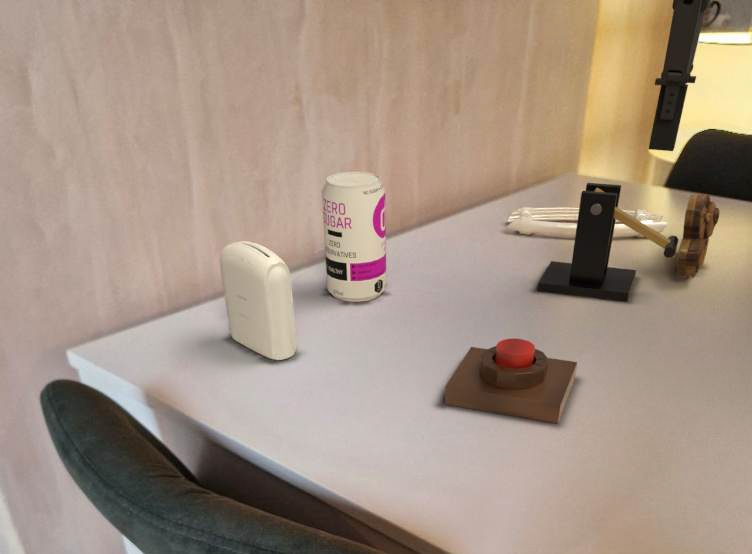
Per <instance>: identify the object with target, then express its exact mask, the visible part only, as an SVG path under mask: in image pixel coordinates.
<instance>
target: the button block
mask: <svg viewBox="0 0 752 554" xmlns="http://www.w3.org/2000/svg"><path fill="white" fill-rule="evenodd" d="M495 355H496V345H495V346H491V347H489V348H483V347H475V346H470V348H469V349H468V351H467V352H466V354H465V355H464V356H463V359H462V360H461V361H460V363H459V365H458V366H457V368H456V369H455V371H454V372H453V374H452V375H451V377H450V378H449V380H448V382H447V383H446V385H445V388H444V405H447V406H452V407H459V408H465V409H471V410H476V411H483V412H486V413H487V412H489V413H493V414H500V415H505V416H510V417H511V416H512V417H518V418H523V419H528V420H529V419H530V420H535V421H541V422H547V423H552V424H559V421H560V419H561V416H562V414H563V411H564V408H565V406H566V403H567V400H568V398H569V396H570V392H571V391H572V388H573V385H574V382H575V379H576V374H577V367H578V361H572V360H567V359H566V360H565V359H560V358H559V359H558V358H551V357H548V356H547V355H546V353H544V352H543V351H542V350H540V349H537V348H535V352H534V361H533V365H531V366H529V367H527V368H518V369H514V368H507V367H503V366H501V365H499V364H496V362H495Z"/></svg>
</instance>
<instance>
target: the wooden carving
mask: <svg viewBox="0 0 752 554" xmlns="http://www.w3.org/2000/svg"><path fill="white" fill-rule="evenodd" d="M716 205H717V204H716V203H715V202H714V201H713V200H712V201H711V197H710V194H706V193H704V194H699V193H694V194H690V195H689V197H688V201H687V206H686V209H685V214H684V219H683V220H684V221H683V232H682V238H681V241H680V243H679V244H680V245H679V249H678V257H677V258H678V259H677V270H676V277H677V278H685V277H693V278H694V277H695V276H696V273H697V270H701V269H702V267H703V265H704V262H705V259H706V255H707V251H708V246H709V242H710V237H712V236H713V233H714V230H715V227H716V225H717V224H718V222H719V219H720V209H719V207H717V206H716Z"/></svg>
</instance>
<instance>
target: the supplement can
mask: <svg viewBox="0 0 752 554" xmlns="http://www.w3.org/2000/svg"><path fill="white" fill-rule="evenodd" d="M321 202H322V217H323V218H322V219H323V232H324V233H323V237H324V253H325V254H324V255H325V256H324V257H325V272H326V287H327V288H326V289H327V291H328V292H329V294H331V295H332V296H333V297H334V298H335V299H337V300H340V301H345V302H349V303H350V302H352V303H353V302H358V303H359V302H367V301H370V300H374V299H377V298H378V297H380V296H381V294H382V293H383V292H385V290H386V288H387V220H386V218H387V217H386V216H387V215H386V213H387V212H386V211H387V210H386V209H387V208H386V204H387V203H386V202H387V201H386V189H385V187H384V185H383V184H382V181H381V177H380V175H378V174H376V173H372V172H366V171H346V172H345V171H344V172H339V173H334V174H331V175H329V176H327V177H326V178H325V183H324V186H323V188H322V190H321Z"/></svg>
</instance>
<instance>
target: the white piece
mask: <svg viewBox="0 0 752 554" xmlns="http://www.w3.org/2000/svg"><path fill="white" fill-rule="evenodd" d="M621 210H622V211H623V212H625V213H627V214H628V215H630V216H632V217H633V218H635V219H637V220H638V221H640V222H641V223H643V224H645V225H646V226H648V227H650V228H651V229H653V230H655V231H656V232H658V233H660V234H661V233H663V232H664V231H665V229H666V228H667V226H668V222H667V221H663V218H664V214H663V213H654V212H649V210H648V209H639V208H636V209H635V210H627V209H621ZM578 214H579V207H532V206H522V207H521V208H518V209H517V208H516V209H515V210H514V211H512V212H511V213H510V214H509V216H508V219H507V223H509V224H508V225H507V227H506V229H507V231H514V232H518V233H519V235H527V236H531V234H539V235H550V236H562V237H563V236H565V237H575V235H576V228H577V222H576V223H575V222H574V223H573V222H557V221H578ZM624 237H625V238H628V237H637V238H638V239H639V238H641V239H642V238H645V237H644V236H643V235H641V234H639V233H638V232H636V231H634V230H633V229H631V228H630V227H628V226H626V225H625V224H623V223H621V222H620V221H618V220H616V221H615V226H614V232H613V238H624Z"/></svg>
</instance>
